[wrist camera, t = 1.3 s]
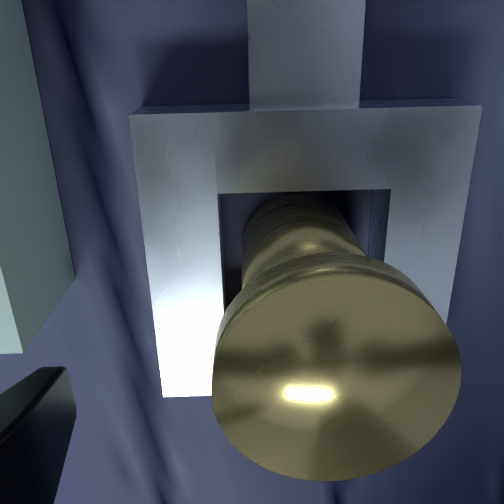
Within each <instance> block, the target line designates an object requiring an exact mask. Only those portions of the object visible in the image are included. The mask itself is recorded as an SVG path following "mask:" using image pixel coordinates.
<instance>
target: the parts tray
mask: <svg viewBox="0 0 504 504" xmlns="http://www.w3.org/2000/svg"><path fill="white" fill-rule="evenodd" d="M74 280H75V274H74V269H73V264H72V259H71V254H70V249H69V243H68V238H67V233H66V228H65V223H64V218H63V212H62V207H61V202H60V197H59V192H58V187H57V182H56V176H55V171H54V166H53V161H52V156H51V151H50V145H49V140H48V135H47V130H46V125H45V120H44V115H43V109H42V104H41V99H40V94H39V89H38V84H37V78H36V73H35V68H34V63H33V58H32V53H31V48H30V42H29V37H28V32H27V27H26V22H25V17H24V11H23V6H22V1H21V0H0V354H9V353H23V352H24V351H25V350H26V348H27V347H28V345H29V344H30V342H31V341H32V340H33V338H34V337H35V335H36V334H37V333H38V331H39V330H40V328H41V327H42V325H43V324H44V323H45V321H46V320H47V318H48V317H49V315H50V314H51V313H52V311H53V310H54V308H55V307H56V305H57V304H58V303H59V301H60V300H61V298H62V297H63V295H64V294H65V293H66V291H67V290H68V288H69V287H70V285H71V284H72V283H73V281H74Z"/></svg>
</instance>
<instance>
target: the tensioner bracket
mask: <svg viewBox="0 0 504 504" xmlns="http://www.w3.org/2000/svg"><path fill="white" fill-rule="evenodd" d="M365 4H366V0H247V39H248V80H249V103H243V104H206V105H168V106H141V107H140V108H138V109H137V110H135V111H134V112H132V113H131V114H129V115H128V116H129V124H130V132H131V140H132V148H133V156H134V164H135V172H136V180H137V188H138V196H139V204H140V212H141V220H142V228H143V236H144V244H145V252H146V260H147V268H148V277H149V285H150V293H151V301H152V309H153V317H154V325H155V333H156V341H157V349H158V357H159V365H160V373H161V381H162V389H163V397H173V396H204V395H211V381H212V369H213V358H214V346H215V340H216V334H217V331H218V328H219V325H220V322H221V319H222V317H223V315H224V313H225V311H226V309H227V305H226V285H225V266H224V247H223V227H222V208H221V194H225V193H260V192H295V191H330V190H365V189H373V197H372V209H371V221H370V234H369V246H368V257H371V258H374V259H377V260H380V261H382V262H384V263H387V264H389V265H391V266H393V267H394V268H396V269H397V270H399V271H401V272H402V273H404V274H405V275H406V276H407V277H408V278H410V279H411V280H412V281H413V282H414V283H415V284H416V285H417V286H418V288H419V289H420V290H421V291H422V292H423V294H424V295H425V296H426V298H427V299H428V300H429V302H430V303H431V305H432V306H433V307H434V309H435V310H436V311H437V313H438V314H439V316H440V317H441V318H442V320H443V321H444V322H445V324H446V323H447V317H448V311H449V305H450V299H451V293H452V287H453V281H454V275H455V269H456V263H457V257H458V251H459V245H460V239H461V233H462V227H463V221H464V215H465V209H466V203H467V197H468V190H469V184H470V178H471V172H472V166H473V160H474V154H475V148H476V142H477V136H478V130H479V124H480V118H481V112H482V106H483V105H480V104H476V103H472V102H468V101H464V100H460V99H457V98H430V99H392V100H359V97H360V81H361V66H362V50H363V35H364V19H365Z"/></svg>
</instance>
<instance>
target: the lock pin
mask: <svg viewBox="0 0 504 504" xmlns="http://www.w3.org/2000/svg"><path fill="white" fill-rule="evenodd" d="M460 383H461V360H460V355H459V351H458V347H457V345H456V342H455V340H454V337H453V335H452V333H451V332H450V330H449V329H448V327H447V326H446V324H445V322H444V321H443V320H442V318H441V317H440V316H439V314H438V313H437V311H436V310H435V309H434V307H433V306H432V305H431V303H430V302H429V300H428V299H427V298H426V296H425V295H424V294H423V292H422V291H421V290H420V289H419V288H418V286H417V285H416V284H415V283H414V282H413V281H412V280H411V279H410V278H408V277H407V276H406V275H405V274H404V273H402V272H401V271H399V270H397V269H396V268H394V267H393V266H391V265H389V264H387V263H384V262H382V261H380V260H377V259H374V258H371V257H367V255H366V254H365V252H364V250H363V249H362V247H361V245H360V244H359V242H358V240H357V239H356V237H355V235H354V233H353V232H352V230H351V228H350V227H349V225H348V223H347V222H346V220H345V218H344V217H343V215H342V214H341V212H340V211H339V210H338V209H337V208H336V207H335V206H334V205H333V204H331V203H330V202H328V201H327V200H325V199H323V198H321V197H318V196H315V195H312V194H306V193H291V194H286V195H282V196H279V197H276V198H274V199H272V200H270V201H268V202H266V203H265V204H264V205H262V206H261V207H260V208H259V209H258V210H257V211H256V212H255V213H254V214H253V215H252V217H251V218H250V220H249V221H248V223H247V225H246V227H245V230H244V233H243V238H242V290H241V291H240V292H239V293H238V294H237V296H236V297H235V298H234V299H233V301H232V302H231V304H230V305H229V306H228V308H227V309H226V311H225V313H224V315H223V317H222V319H221V322H220V325H219V328H218V331H217V334H216V340H215V346H214V358H213V369H212V381H211V397H212V403H213V409H214V412H215V415H216V418H217V421H218V423H219V425H220V427H221V429H222V431H223V432H224V434H225V435H226V436H227V438H228V439H229V440H230V442H231V443H232V444H233V445H234V446H235V447H236V448H237V449H238V450H239V451H240V452H241V453H242V454H244V455H245V456H246V457H247V458H249V459H250V460H252V461H253V462H255V463H257V464H258V465H260V466H262V467H264V468H266V469H268V470H271V471H273V472H275V473H278V474H281V475H285V476H288V477H292V478H297V479H302V480H311V481H339V480H348V479H354V478H359V477H363V476H367V475H370V474H374V473H377V472H379V471H382V470H385V469H387V468H390V467H392V466H394V465H396V464H398V463H400V462H402V461H403V460H405V459H406V458H408V457H410V456H411V455H413V454H414V453H416V452H417V451H418V450H419V449H421V448H422V447H423V446H424V445H426V444H427V443H428V442H429V441H430V440H431V439H432V438H433V437H434V436H435V435H436V433H437V432H438V431H439V430H440V428H441V427H442V426H443V425H444V423H445V422H446V420H447V418H448V417H449V415H450V413H451V412H452V409H453V407H454V405H455V402H456V400H457V397H458V393H459V389H460Z"/></svg>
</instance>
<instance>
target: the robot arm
mask: <svg viewBox="0 0 504 504" xmlns="http://www.w3.org/2000/svg"><path fill="white" fill-rule="evenodd" d="M75 419H76V402H75V397H74V393H73V388H72V384H71V379H70V375H69V372H68V370H67V369H66V368H65V367H63V366H58V367H41V368H39V369H37V370H36V371H34V372H33V373H31V374H30V375H28V376H27V377H25V378H24V379H22V380H21V381H19V382H18V383H16V384H15V385H13V386H12V387H10V388H9V389H7V390H6V391H4V392H3V393H1V394H0V504H54V500H55V497H56V493H57V489H58V486H59V482H60V478H61V474H62V470H63V466H64V462H65V458H66V454H67V451H68V447H69V443H70V439H71V435H72V431H73V427H74V423H75Z"/></svg>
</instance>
